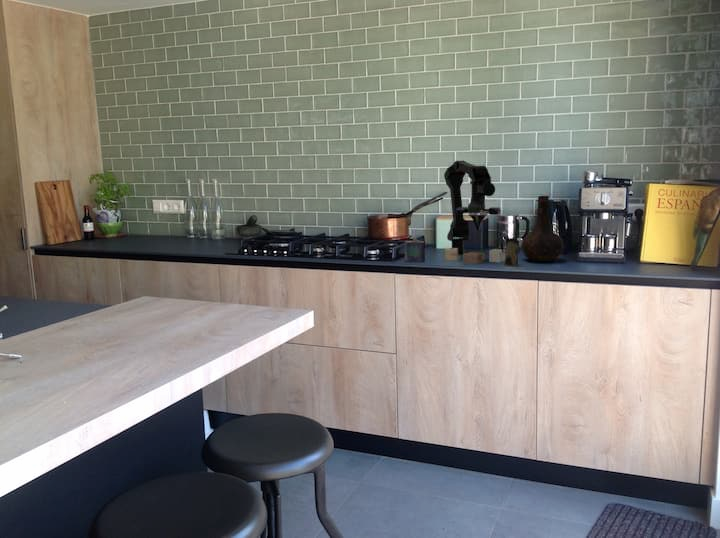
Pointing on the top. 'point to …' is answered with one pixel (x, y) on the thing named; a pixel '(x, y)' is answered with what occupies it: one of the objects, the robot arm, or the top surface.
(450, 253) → the beech block marked
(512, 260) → the mug
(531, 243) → the brown bottle vase
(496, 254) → the grey block marked
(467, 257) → the walnut block
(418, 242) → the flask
